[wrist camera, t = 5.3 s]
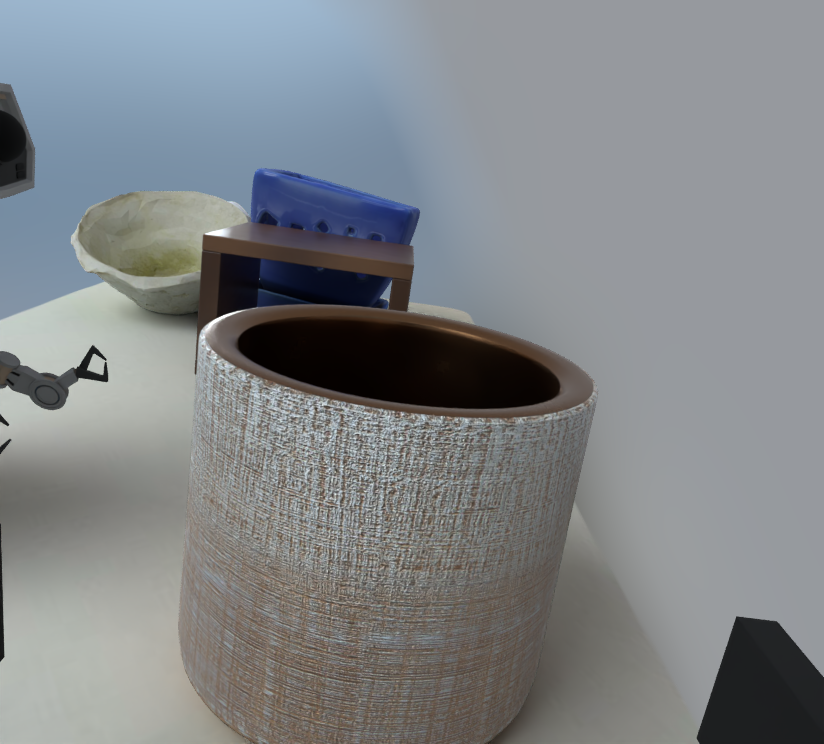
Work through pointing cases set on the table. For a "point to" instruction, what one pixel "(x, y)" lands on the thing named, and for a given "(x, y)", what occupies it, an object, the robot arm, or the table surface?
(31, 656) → the table surface
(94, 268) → the bowl
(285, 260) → the shelf
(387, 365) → the planter
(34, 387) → the figurine
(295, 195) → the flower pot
